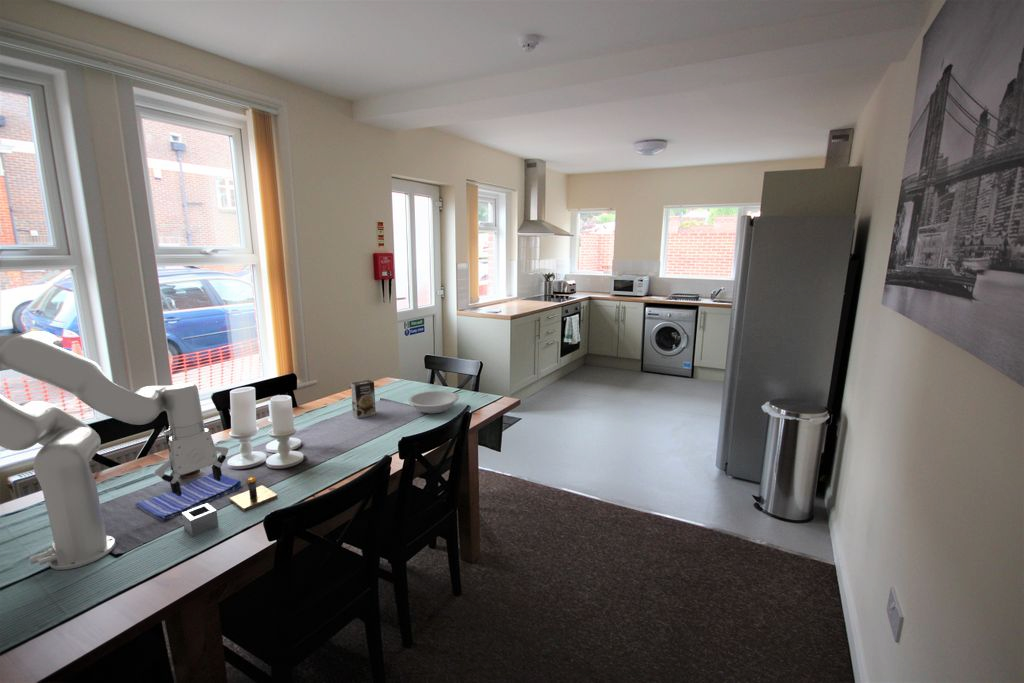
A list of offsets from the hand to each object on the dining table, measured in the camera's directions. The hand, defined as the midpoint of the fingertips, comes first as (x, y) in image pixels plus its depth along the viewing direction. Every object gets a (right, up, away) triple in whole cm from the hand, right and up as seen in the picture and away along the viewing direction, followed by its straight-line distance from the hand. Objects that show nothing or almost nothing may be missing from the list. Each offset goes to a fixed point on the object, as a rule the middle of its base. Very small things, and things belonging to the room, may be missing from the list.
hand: (198, 486), depth 129 cm
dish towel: (-15, -10, +19) cm, 26 cm away
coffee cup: (-25, -6, +33) cm, 42 cm away
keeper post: (+6, -9, +17) cm, 20 cm away
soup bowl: (+49, +6, +97) cm, 109 cm away
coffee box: (+17, +5, +91) cm, 93 cm away
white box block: (-1, -12, +2) cm, 12 cm away
